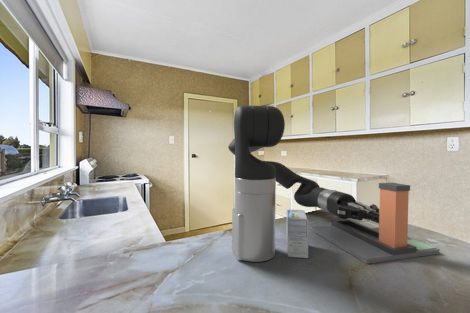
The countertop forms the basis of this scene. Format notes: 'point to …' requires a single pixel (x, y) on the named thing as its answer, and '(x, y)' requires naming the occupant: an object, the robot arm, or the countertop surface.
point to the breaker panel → (369, 242)
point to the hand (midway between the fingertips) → (385, 220)
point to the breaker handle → (393, 214)
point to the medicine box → (297, 234)
